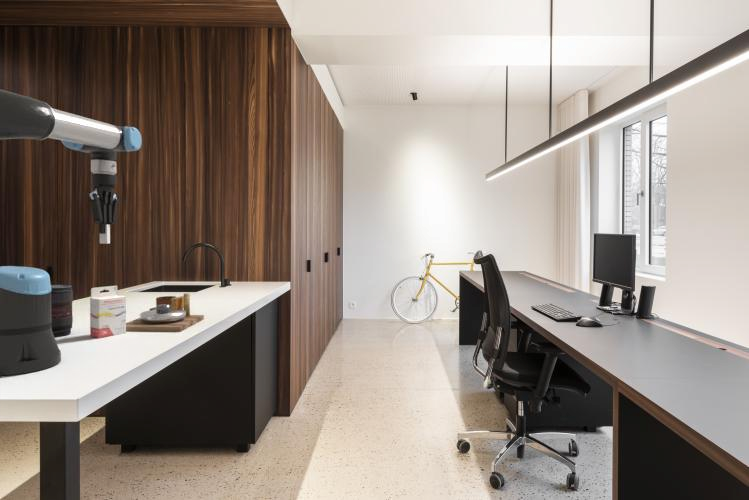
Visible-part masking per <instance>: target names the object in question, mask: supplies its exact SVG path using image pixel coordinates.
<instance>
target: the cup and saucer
mask: <svg viewBox="0 0 749 500" xmlns="http://www.w3.org/2000/svg"><path fill="white" fill-rule="evenodd" d="M175 297H176V296H175V295H171V296H170V295H169V296H168V295H167V296H158V297H156V299H155V305H156V306H157V305H162V304H169V305H171V298H175ZM150 310H156V307H152V308H149V310H148V311H150ZM182 310H184V308H182Z"/></svg>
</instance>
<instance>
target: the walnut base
mask: <svg viewBox="0 0 749 500" xmlns="http://www.w3.org/2000/svg"><path fill="white" fill-rule="evenodd" d="M183 296H184V308H183V310H185V311H186V318H184V319H181V320H177V321H170V322H143V321H141V317H138V318H135V319H133V320H131V321H128V322H126V332H173V333H174V332H175V333H176V332H179V333H180V332H182V331H184V330H187V329H188V328H190V327H192V326H195V325H196V324H197V323H199V322H201V321H203V320H205V314H191V305H190V304H191V301H190V300H191V299H190V296H191V295H190V293H189V292H188V293H187V292H186V293H183Z"/></svg>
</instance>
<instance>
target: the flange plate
mask: <svg viewBox="0 0 749 500" xmlns="http://www.w3.org/2000/svg"><path fill="white" fill-rule="evenodd" d="M182 308H183V310H182ZM140 318H141V321H143V322H170V321H177V320H181V319H184V318H186V311H185V310H184V295H182V296H175V298H171V305H169V304H162V305H157V306H156V310H147V311H143V312H140Z"/></svg>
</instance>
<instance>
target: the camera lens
mask: <svg viewBox="0 0 749 500" xmlns="http://www.w3.org/2000/svg"><path fill="white" fill-rule="evenodd" d="M51 288H52V290H51V327H52V333H53V335H54V337H55V338H58V337H64V336H65V337H66V336H68V335H70V334H71V332H72V331H71V330H72V329H73V322H74V321H73V320H74V318H73V302H74V295H73V294H74V293H73V286H72V285H69V284H67V285H66V284H51Z"/></svg>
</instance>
